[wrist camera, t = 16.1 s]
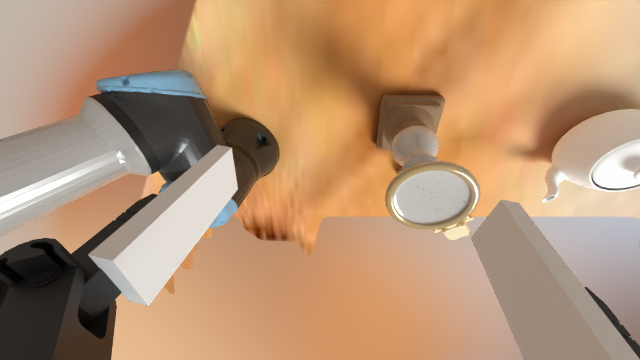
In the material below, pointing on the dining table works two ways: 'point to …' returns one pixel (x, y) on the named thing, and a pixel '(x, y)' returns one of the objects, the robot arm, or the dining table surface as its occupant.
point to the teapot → (598, 154)
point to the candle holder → (422, 165)
